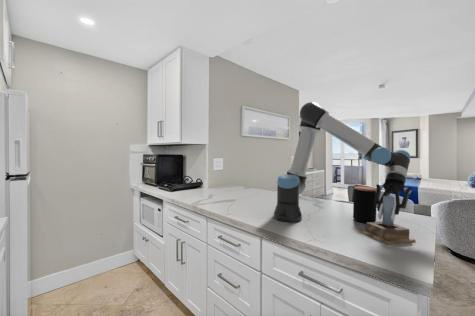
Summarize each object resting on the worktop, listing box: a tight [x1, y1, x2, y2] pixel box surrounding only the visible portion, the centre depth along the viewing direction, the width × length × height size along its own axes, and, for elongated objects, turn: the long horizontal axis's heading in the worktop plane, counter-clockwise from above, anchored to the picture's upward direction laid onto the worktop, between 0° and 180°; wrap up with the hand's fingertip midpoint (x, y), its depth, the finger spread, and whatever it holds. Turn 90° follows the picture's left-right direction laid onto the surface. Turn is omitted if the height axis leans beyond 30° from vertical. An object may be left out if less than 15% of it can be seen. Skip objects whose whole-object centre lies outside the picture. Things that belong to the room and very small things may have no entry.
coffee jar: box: [352, 185, 377, 224], centre depth 119 cm, size 11×11×18 cm
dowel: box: [381, 195, 395, 226], centre depth 96 cm, size 4×4×12 cm
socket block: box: [360, 221, 416, 245], centre depth 97 cm, size 14×14×5 cm
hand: (385, 218), depth 94 cm, fingers closed on dowel, 4 cm apart
